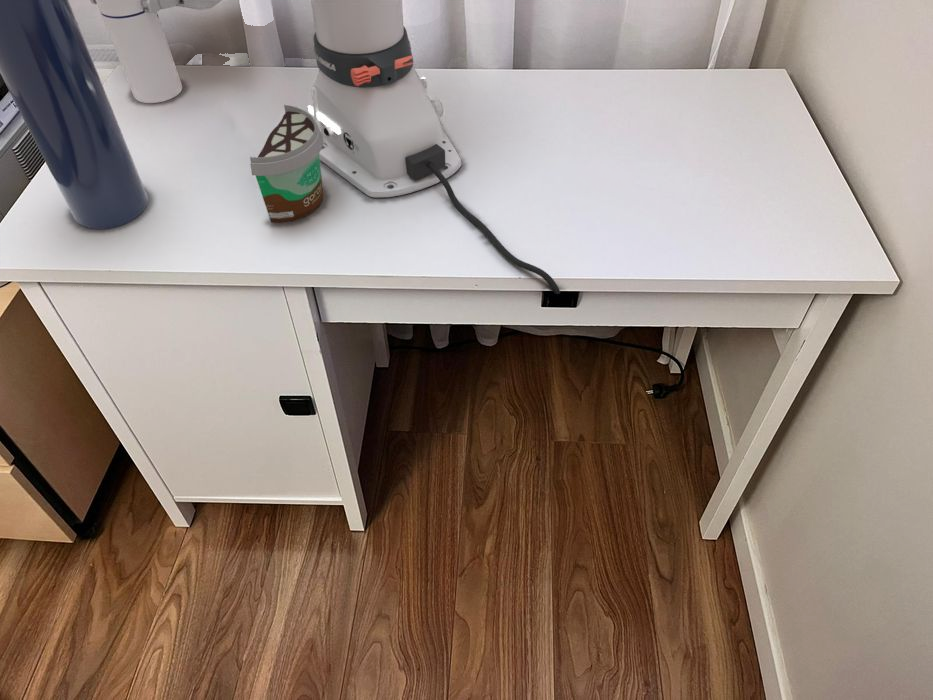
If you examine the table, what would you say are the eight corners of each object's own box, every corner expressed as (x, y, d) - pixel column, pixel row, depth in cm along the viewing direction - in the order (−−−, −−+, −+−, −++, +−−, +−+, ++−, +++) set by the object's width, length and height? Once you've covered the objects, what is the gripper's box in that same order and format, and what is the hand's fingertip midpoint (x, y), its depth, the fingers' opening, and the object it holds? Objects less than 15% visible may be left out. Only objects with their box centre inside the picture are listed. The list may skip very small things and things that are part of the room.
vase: (156, 213, 91) (25, -115, 64) (82, 238, 88) (-90, -96, 61) (137, 177, 96) (8, -142, 69) (66, 198, 93) (-99, -126, 66)
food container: (315, 235, 88) (300, 165, 81) (266, 230, 89) (248, 160, 81) (344, 176, 96) (333, 107, 89) (299, 171, 97) (285, 102, 89)
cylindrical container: (126, 103, 108) (50, -84, 89) (142, 78, 113) (73, -104, 94) (174, 103, 108) (107, -85, 89) (188, 78, 113) (127, -105, 94)
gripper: (110, -67, 108) (47, -31, 99) (231, -51, 104) (177, -11, 95) (125, -23, 113) (66, 16, 104) (242, -5, 109) (191, 36, 100)
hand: (120, 3), depth 100 cm, fingers closed on cylindrical container, 7 cm apart
